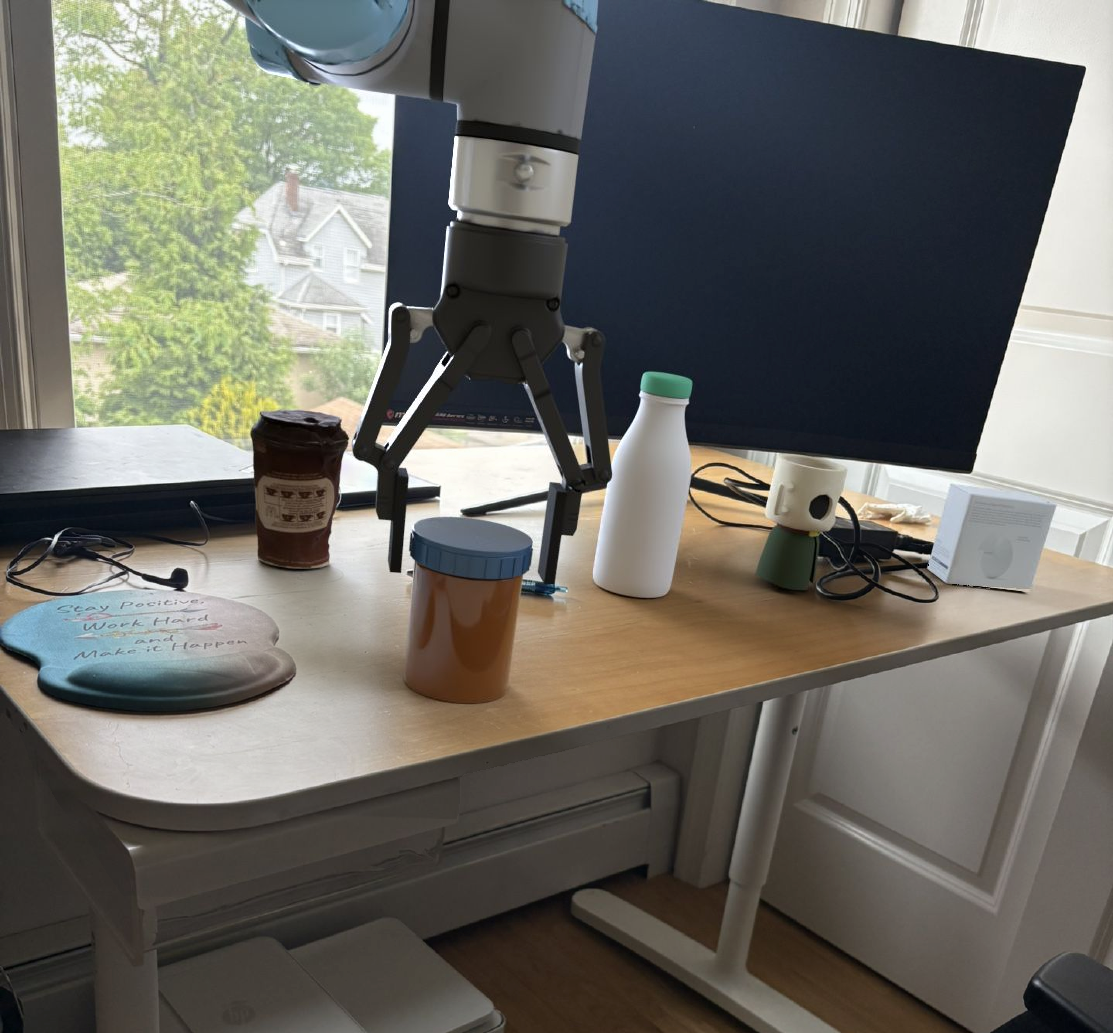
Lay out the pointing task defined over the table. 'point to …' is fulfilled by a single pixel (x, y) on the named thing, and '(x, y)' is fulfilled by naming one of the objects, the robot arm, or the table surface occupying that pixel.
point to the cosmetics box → (990, 537)
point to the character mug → (799, 518)
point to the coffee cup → (296, 485)
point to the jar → (460, 635)
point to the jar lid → (470, 547)
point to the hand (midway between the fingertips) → (471, 572)
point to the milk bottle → (647, 493)
